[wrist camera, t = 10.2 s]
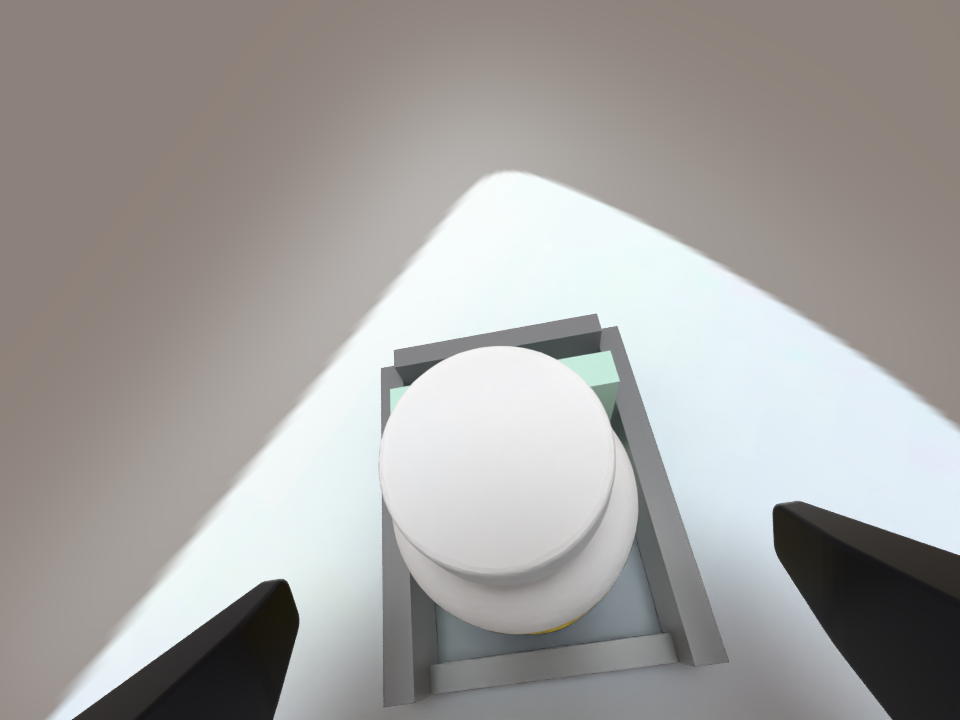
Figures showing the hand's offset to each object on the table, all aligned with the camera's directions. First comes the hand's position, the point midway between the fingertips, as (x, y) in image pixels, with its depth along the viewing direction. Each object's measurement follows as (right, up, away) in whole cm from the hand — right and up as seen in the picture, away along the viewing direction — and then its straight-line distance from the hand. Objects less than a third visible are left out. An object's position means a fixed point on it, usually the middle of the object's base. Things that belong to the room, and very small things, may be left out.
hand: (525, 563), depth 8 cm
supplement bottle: (+1, -3, +8) cm, 8 cm away
